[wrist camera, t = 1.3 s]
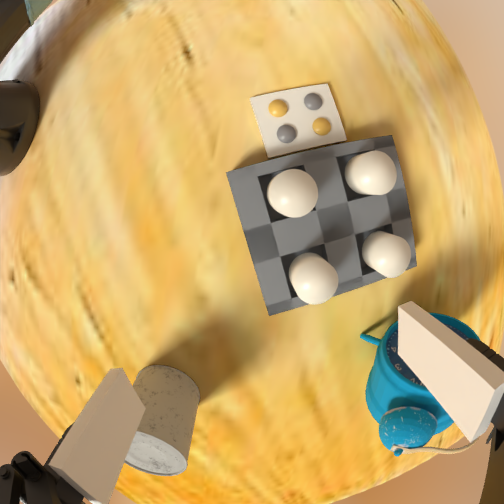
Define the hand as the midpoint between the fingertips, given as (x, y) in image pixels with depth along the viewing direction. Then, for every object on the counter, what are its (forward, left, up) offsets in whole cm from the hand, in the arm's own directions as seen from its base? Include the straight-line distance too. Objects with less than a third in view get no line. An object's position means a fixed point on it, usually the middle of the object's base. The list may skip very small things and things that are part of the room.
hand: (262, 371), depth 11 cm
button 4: (+2, +13, -16) cm, 21 cm away
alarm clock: (+17, +16, -19) cm, 30 cm away
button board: (-2, +9, -19) cm, 21 cm away
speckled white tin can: (+15, -17, -19) cm, 30 cm away
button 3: (-6, +13, -16) cm, 22 cm away
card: (-14, +9, -19) cm, 25 cm away
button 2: (+2, +5, -16) cm, 17 cm away
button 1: (-6, +5, -16) cm, 18 cm away
